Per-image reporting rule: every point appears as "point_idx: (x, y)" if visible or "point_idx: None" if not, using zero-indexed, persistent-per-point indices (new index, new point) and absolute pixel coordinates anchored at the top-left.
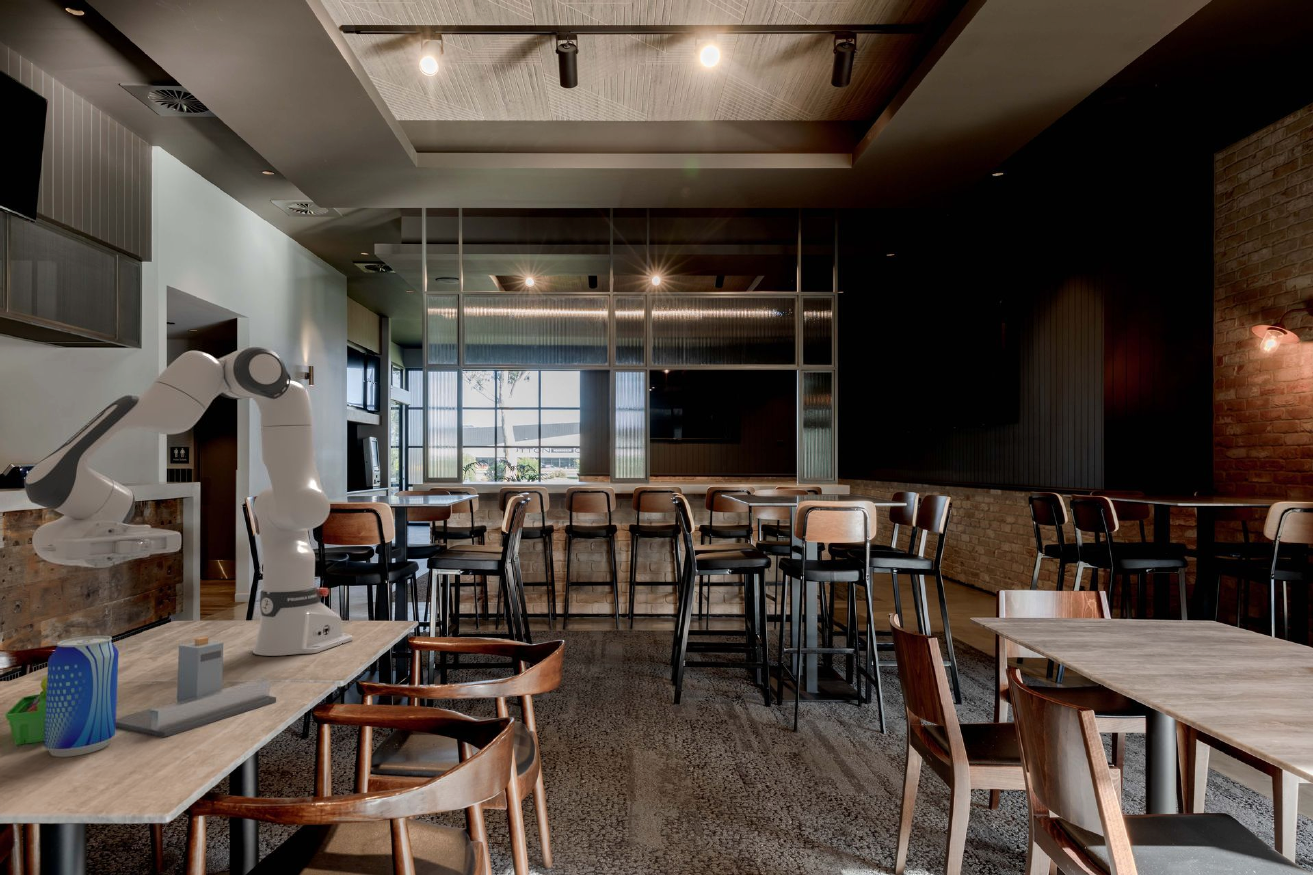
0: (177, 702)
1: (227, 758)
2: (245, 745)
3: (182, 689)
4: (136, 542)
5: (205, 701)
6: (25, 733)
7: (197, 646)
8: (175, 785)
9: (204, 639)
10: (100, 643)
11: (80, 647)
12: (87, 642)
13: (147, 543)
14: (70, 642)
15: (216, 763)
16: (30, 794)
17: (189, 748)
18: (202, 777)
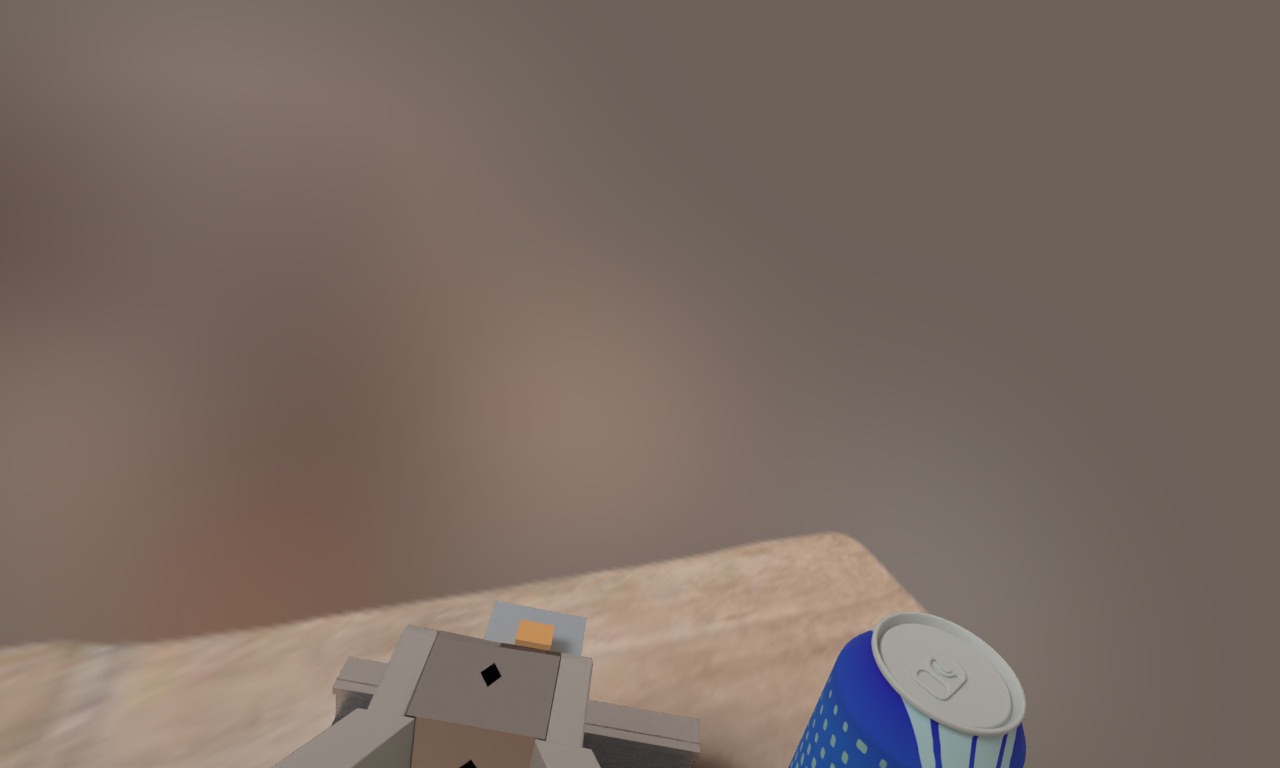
0: (625, 734)
1: (703, 563)
2: (647, 571)
3: None
4: (590, 676)
5: None
6: None
7: (566, 636)
8: (804, 565)
9: (533, 626)
10: (915, 615)
11: (964, 638)
12: (941, 653)
13: (492, 641)
14: (981, 710)
15: (724, 565)
16: None
17: (702, 643)
18: (767, 552)
